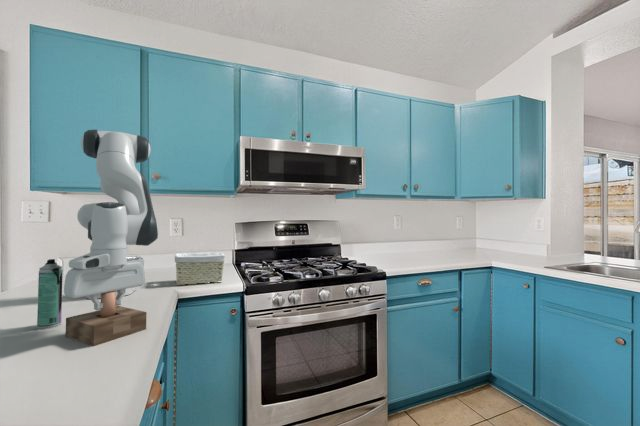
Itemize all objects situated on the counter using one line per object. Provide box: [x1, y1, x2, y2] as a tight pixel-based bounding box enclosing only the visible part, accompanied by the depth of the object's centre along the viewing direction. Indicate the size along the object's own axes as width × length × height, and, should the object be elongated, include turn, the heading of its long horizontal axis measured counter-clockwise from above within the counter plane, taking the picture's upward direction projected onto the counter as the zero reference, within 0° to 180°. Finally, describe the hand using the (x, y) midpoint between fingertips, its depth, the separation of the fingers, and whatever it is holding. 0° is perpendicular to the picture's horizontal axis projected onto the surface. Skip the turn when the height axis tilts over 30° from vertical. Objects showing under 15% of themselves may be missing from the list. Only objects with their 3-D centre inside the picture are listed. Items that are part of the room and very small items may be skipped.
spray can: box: [36, 258, 64, 330], centre depth 95 cm, size 6×6×20 cm
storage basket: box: [174, 251, 226, 286], centre depth 163 cm, size 24×16×15 cm
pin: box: [100, 291, 116, 318], centre depth 89 cm, size 4×4×7 cm
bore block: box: [65, 305, 147, 347], centre depth 89 cm, size 14×14×5 cm
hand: (107, 307), depth 89 cm, fingers closed on pin, 3 cm apart
